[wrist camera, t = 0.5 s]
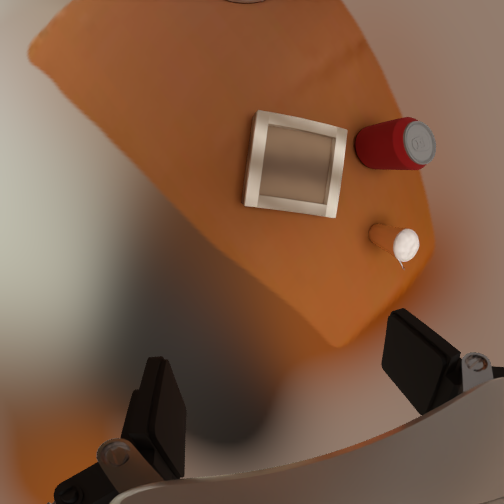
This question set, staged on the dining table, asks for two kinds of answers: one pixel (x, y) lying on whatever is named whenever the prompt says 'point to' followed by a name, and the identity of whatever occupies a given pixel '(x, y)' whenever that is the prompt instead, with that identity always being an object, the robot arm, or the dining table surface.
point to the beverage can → (396, 145)
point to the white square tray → (294, 165)
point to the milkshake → (395, 241)
